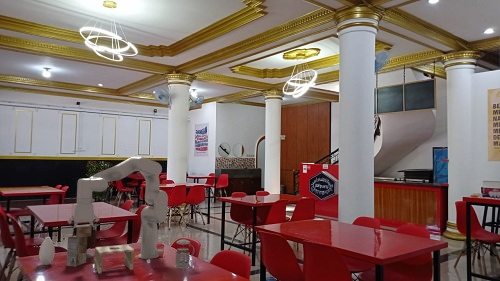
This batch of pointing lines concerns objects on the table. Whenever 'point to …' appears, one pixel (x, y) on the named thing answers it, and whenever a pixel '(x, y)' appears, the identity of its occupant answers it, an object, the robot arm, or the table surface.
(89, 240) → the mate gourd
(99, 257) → the stand
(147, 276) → the table surface
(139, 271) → the table surface
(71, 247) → the coffee box
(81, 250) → the hanger peg
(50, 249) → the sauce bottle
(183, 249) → the french press
